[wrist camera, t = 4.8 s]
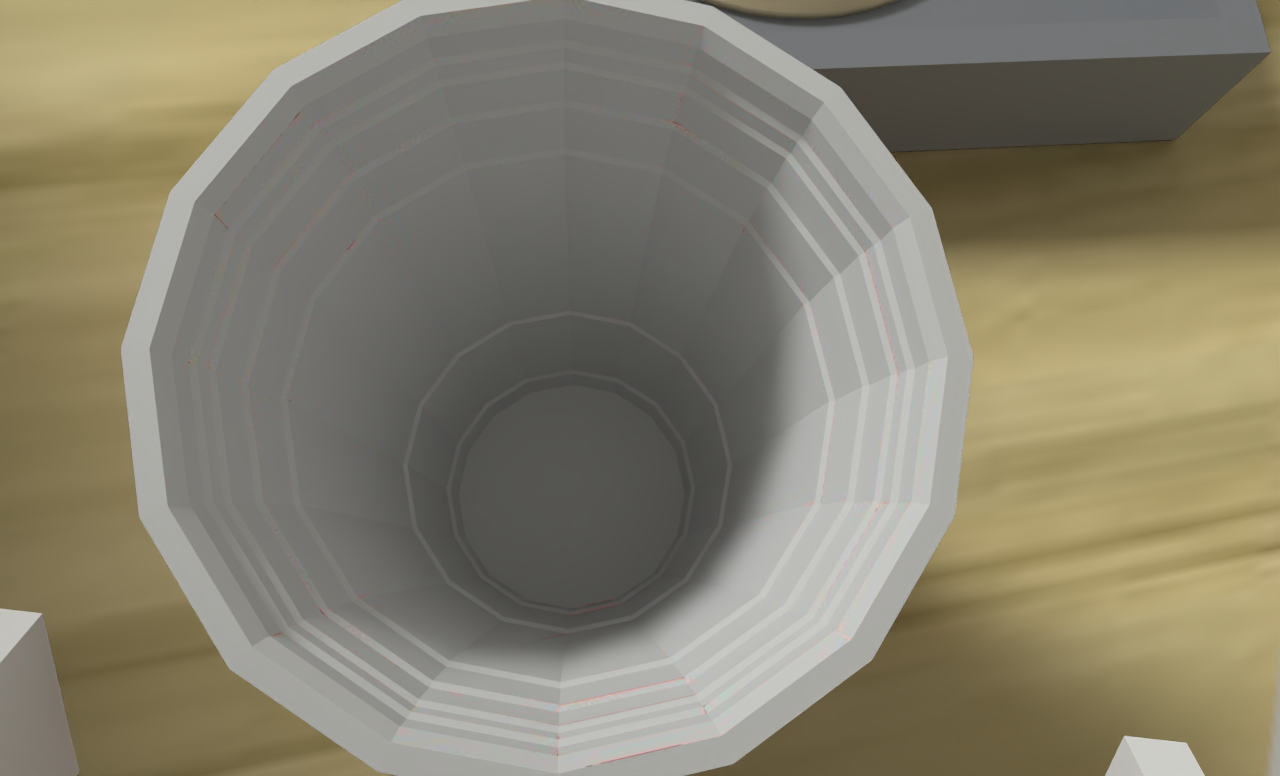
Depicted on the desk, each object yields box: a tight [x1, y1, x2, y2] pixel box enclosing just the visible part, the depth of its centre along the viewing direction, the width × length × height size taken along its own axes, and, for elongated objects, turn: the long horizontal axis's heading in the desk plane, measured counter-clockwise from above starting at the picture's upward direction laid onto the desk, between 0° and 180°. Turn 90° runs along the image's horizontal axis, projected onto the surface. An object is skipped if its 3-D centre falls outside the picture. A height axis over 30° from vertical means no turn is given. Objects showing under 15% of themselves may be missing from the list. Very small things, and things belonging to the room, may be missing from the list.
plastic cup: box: [121, 0, 974, 776], centre depth 18 cm, size 11×11×12 cm
